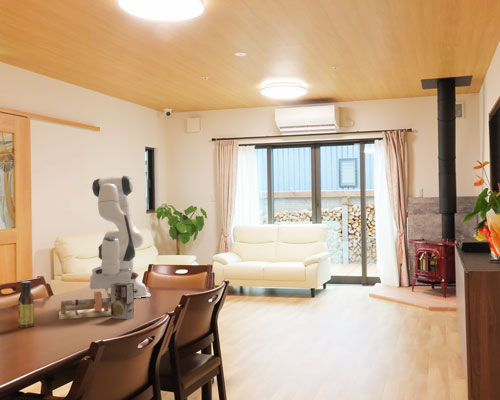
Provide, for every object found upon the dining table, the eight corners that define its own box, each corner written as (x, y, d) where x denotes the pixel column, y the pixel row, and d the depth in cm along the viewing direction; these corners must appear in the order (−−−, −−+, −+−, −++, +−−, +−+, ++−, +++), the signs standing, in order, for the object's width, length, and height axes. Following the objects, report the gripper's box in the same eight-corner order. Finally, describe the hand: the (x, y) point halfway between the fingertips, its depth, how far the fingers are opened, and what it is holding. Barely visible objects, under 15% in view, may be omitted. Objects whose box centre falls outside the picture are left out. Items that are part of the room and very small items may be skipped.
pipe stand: (108, 309, 271) (108, 295, 271) (112, 315, 258) (112, 299, 258) (58, 313, 262) (58, 298, 262) (59, 319, 249) (59, 303, 249)
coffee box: (134, 316, 254) (134, 283, 254) (127, 319, 248) (127, 284, 248) (117, 315, 257) (117, 282, 257) (110, 318, 251) (110, 284, 251)
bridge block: (100, 307, 266) (100, 291, 266) (101, 310, 259) (101, 294, 259) (94, 308, 265) (94, 291, 265) (95, 311, 258) (95, 294, 258)
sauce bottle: (21, 325, 237) (21, 280, 237) (35, 324, 237) (35, 280, 237) (16, 328, 230) (16, 282, 230) (30, 328, 231) (31, 282, 231)
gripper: (130, 267, 274) (130, 294, 274) (89, 269, 266) (89, 297, 266) (132, 269, 268) (132, 296, 268) (90, 271, 260) (90, 299, 260)
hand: (110, 297), depth 267 cm, fingers closed
